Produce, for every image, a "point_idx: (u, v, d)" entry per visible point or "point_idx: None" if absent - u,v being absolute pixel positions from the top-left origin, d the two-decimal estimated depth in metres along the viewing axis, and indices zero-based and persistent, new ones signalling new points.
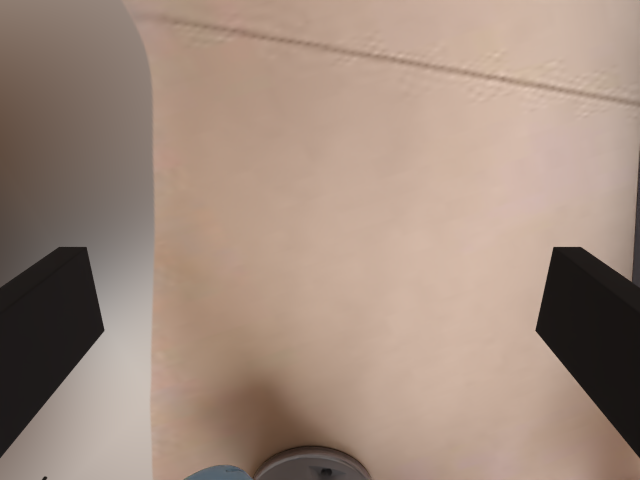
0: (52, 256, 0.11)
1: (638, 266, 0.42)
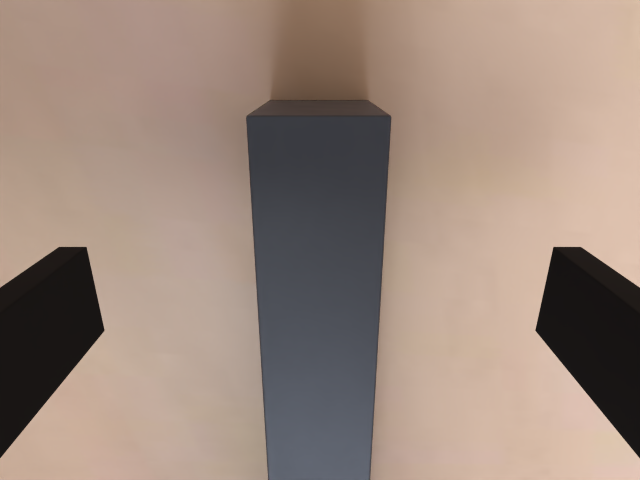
0: (52, 257, 0.11)
1: None
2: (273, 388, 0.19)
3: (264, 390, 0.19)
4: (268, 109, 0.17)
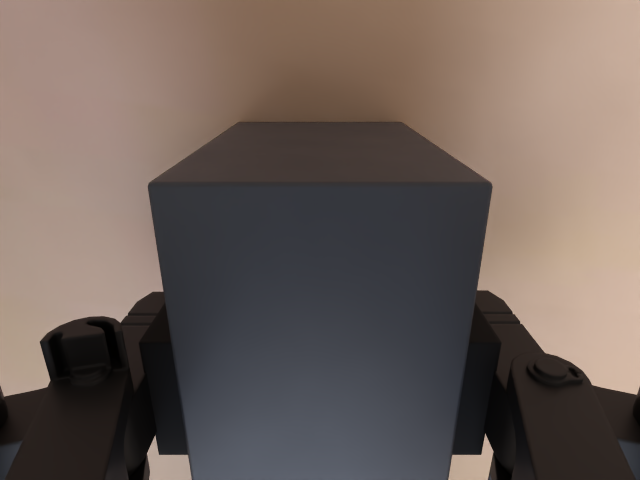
0: None
1: None
2: None
3: None
4: (217, 153, 0.08)
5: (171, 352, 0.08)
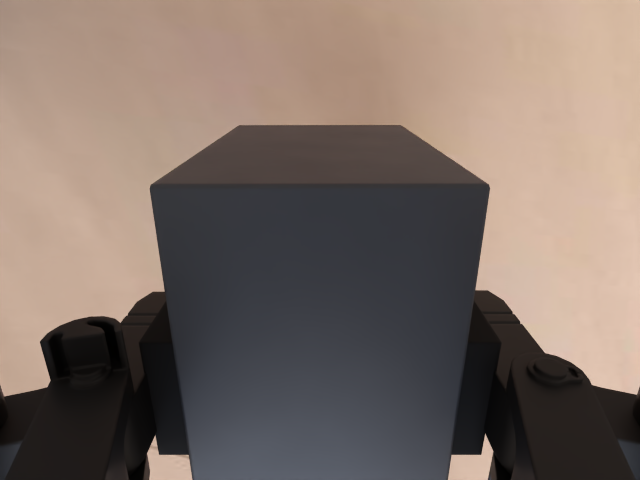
0: None
1: None
2: None
3: None
4: (217, 156, 0.08)
5: (171, 352, 0.08)
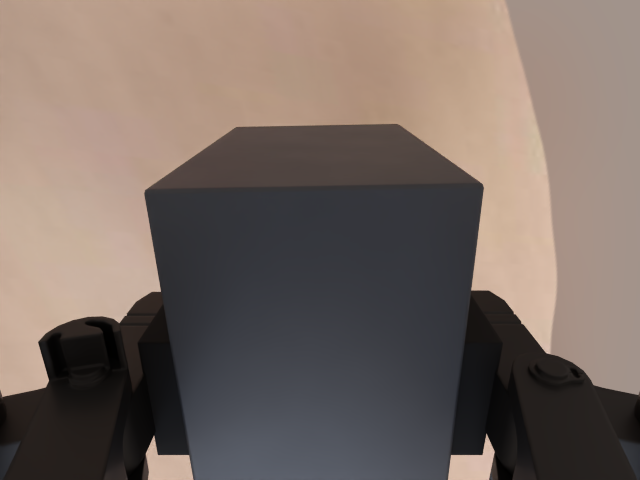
0: None
1: None
2: None
3: None
4: (213, 159, 0.08)
5: (170, 352, 0.08)
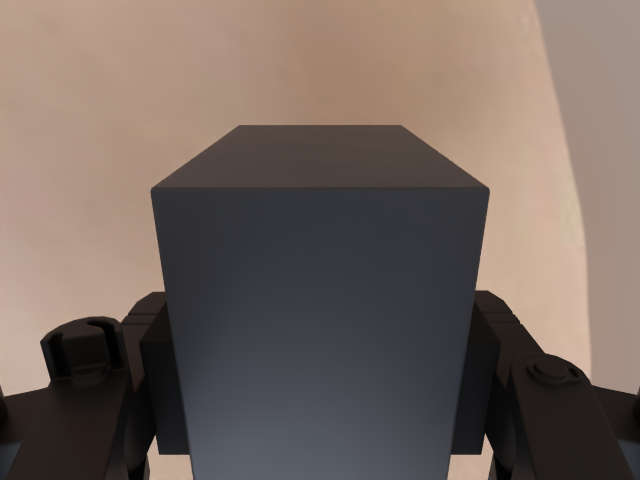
0: None
1: None
2: None
3: None
4: (218, 158, 0.08)
5: (171, 352, 0.08)
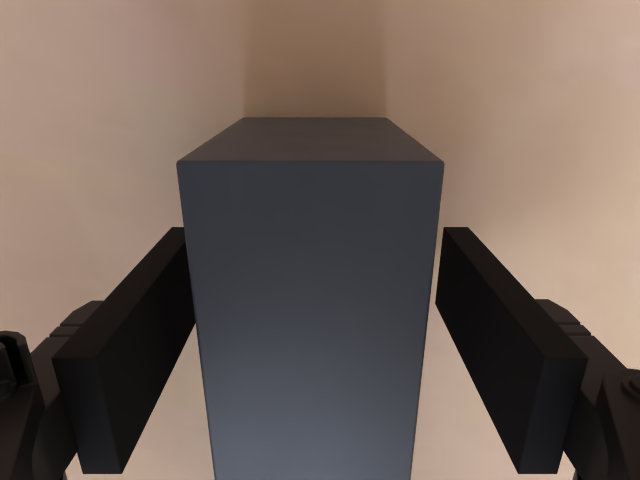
0: (172, 234, 0.13)
1: None
2: None
3: None
4: (227, 141, 0.10)
5: (86, 368, 0.07)
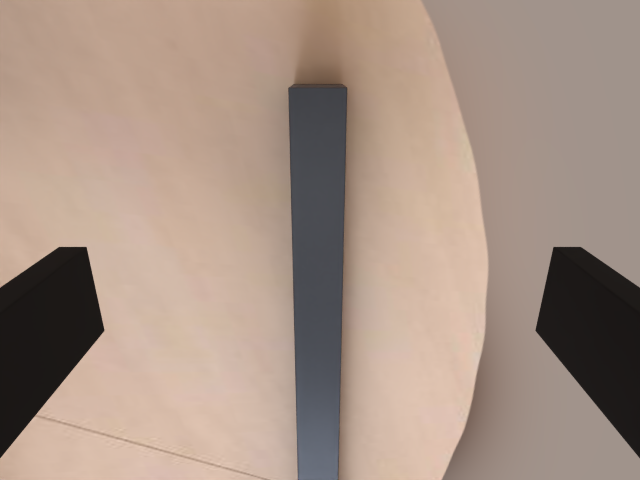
0: (52, 257, 0.11)
1: None
2: (296, 217, 0.42)
3: (292, 218, 0.42)
4: (296, 86, 0.39)
5: None
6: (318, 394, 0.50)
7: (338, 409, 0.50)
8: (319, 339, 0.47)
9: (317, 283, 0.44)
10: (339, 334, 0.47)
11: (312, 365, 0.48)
